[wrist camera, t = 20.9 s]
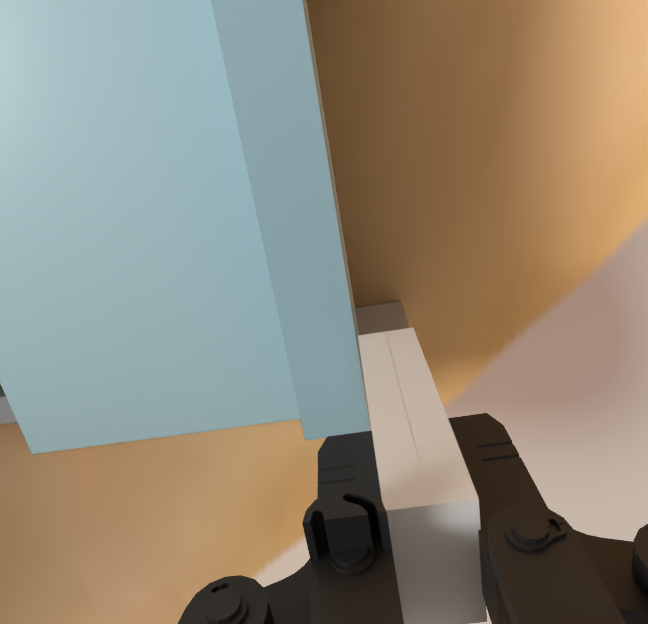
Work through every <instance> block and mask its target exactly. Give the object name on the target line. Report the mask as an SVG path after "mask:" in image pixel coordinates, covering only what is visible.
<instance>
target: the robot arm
mask: <svg viewBox="0 0 648 624" xmlns="http://www.w3.org/2000/svg"><path fill="white" fill-rule="evenodd" d="M358 341H359V348H360V354H361V361H362V368H363V375H364V382H365V388H366V395H367V402H368V409H369V416H370V422H371V429H372V431H364V432H357V433H350V434H343V435H335V436H328V437H327V438H326V440H325V441H324V443H323V445H322V446H321V448H320V450H319V451H318V499H316V500H315V501H314V502H313V503H312V504H311V506H310V507H309V508H308V509H307V510H306V513H305V516H304V519H303V528H304V532H305V536H306V541H307V545H308V550H309V554H310V559H309V560H308V562H307V563H306V564H305V565H304V566H303V567H302V568H301V569H299V570H298V571H297V572H296V573H294V574H293V575H291V576H289V577H287V578H285V579H283V580H281V581H279V582H276V583H273V584H271V585H269V586H266V587H264V588H263V587H262V586H261V585H260V584H259V583H258V582H257V581H256V580H255V579H252V578H248V577H245V576H229V577H224V578H221V579H219V580H217V581H214V582H212V583H209V584H208V585H207V586H206V587H204V588H203V589H202V590H200V591H199V592H198V593H197V594H196V595H195V596H194V597H193V599H192V600H191V602H190V603H189V604H188V606H187V607H186V609H185V611H184V613H183V615H182V617H181V619H180V620H179V622H178V624H469V623H478V622H486V621H487V615H486V606H487V610H488V612H489V616H490V619H491V622H492V624H648V524H647V525H645V526H644V527H642V528H640V529H639V530H638V533H637V535H636V537H635V539H634V542H630V541H623V540H615V539H607V538H600V537H595V536H590V535H586V534H584V533H581V532H578V531H576V530H573V528H572V527H571V526H570V525H569V524H568V523H567V521H565V519H564V518H563V517H561V516H559V515H558V514H556V513H554V512H553V511H551V510H549V509H548V507H547V506H546V504H545V502H544V500H543V498H542V496H541V495H540V493H539V491H538V489H537V487H536V485H535V483H534V481H533V480H532V478H531V476H530V474H529V472H528V470H527V468H526V467H525V465H524V463H523V461H522V459H521V458H520V457H519V453H518V452H517V450H516V448H515V446H514V445H513V444H512V440H511V439H510V437H509V435H508V433H507V431H506V429H505V427H504V426H503V425H502V424H501V423H500V422H498V421H497V420H495V419H494V418H493V417H491V416H490V415H489V414H487V413H483V414H477V415H469V416H462V417H455V418H448V417H447V415H446V412H445V409H444V406H443V404H442V401H441V399H440V396H439V393H438V391H437V388H436V386H435V383H434V380H433V378H432V375H431V372H430V370H429V367H428V365H427V362H426V359H425V357H424V354H423V351H422V349H421V346H420V344H419V341H418V338H417V336H416V333H415V331H414V328H406V329H399V330H392V331H386V332H379V333H372V334H365V335H358Z"/></svg>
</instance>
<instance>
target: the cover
mask: <svg viewBox="0 0 648 624" xmlns="http://www.w3.org/2000/svg"><path fill="white" fill-rule="evenodd" d="M358 335H359V332H358V326H357V319H356V313H355V306H354V300H353V294H352V287H351V281H350V274H349V268H348V262H347V255H346V249H345V243H344V236H343V230H342V223H341V217H340V211H339V204H338V198H337V191H336V185H335V179H334V172H333V166H332V159H331V153H330V147H329V140H328V134H327V128H326V121H325V115H324V108H323V102H322V96H321V89H320V83H319V76H318V70H317V64H316V57H315V51H314V44H313V38H312V32H311V25H310V19H309V13H308V6H307V0H0V384H1V386H2V388H3V390H4V393H5V395H6V397H7V399H8V402H9V404H10V406H11V408H12V411H13V413H14V415H15V417H16V420H17V422H18V424H19V426H20V429H21V431H22V433H23V435H24V438H25V440H26V442H27V444H28V447H29V449H30V451H31V453H32V454H38V453H46V452H53V451H61V450H68V449H76V448H83V447H91V446H98V445H106V444H113V443H121V442H129V441H136V440H144V439H151V438H159V437H166V436H174V435H181V434H189V433H196V432H204V431H212V430H219V429H227V428H234V427H242V426H249V425H257V424H264V423H272V422H279V421H287V420H295V419H301V423H302V428H303V433H304V437H305V440H313V439H320V438H327V437H328V436H335V435H343V434H350V433H357V432H364V431H371V428H370V418H369V409H368V402H367V395H366V388H365V382H364V375H363V368H362V361H361V354H360V348H359V341H358Z"/></svg>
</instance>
